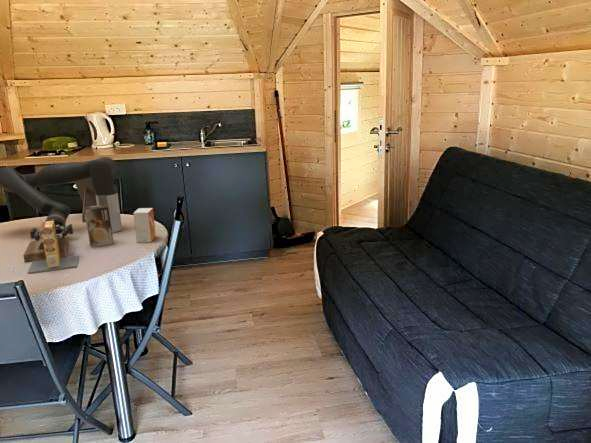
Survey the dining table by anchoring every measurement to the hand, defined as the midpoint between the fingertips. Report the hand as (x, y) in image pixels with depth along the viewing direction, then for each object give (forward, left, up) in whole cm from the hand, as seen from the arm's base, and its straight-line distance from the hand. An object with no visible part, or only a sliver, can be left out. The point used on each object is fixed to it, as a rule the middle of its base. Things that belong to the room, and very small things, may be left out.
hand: (50, 236), depth 174 cm
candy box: (0, 0, -11) cm, 11 cm away
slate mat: (0, 0, -11) cm, 11 cm away
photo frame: (-10, -68, -11) cm, 70 cm away
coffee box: (-16, -20, -11) cm, 28 cm away
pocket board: (+4, -17, -11) cm, 21 cm away
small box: (-34, -18, -11) cm, 40 cm away
